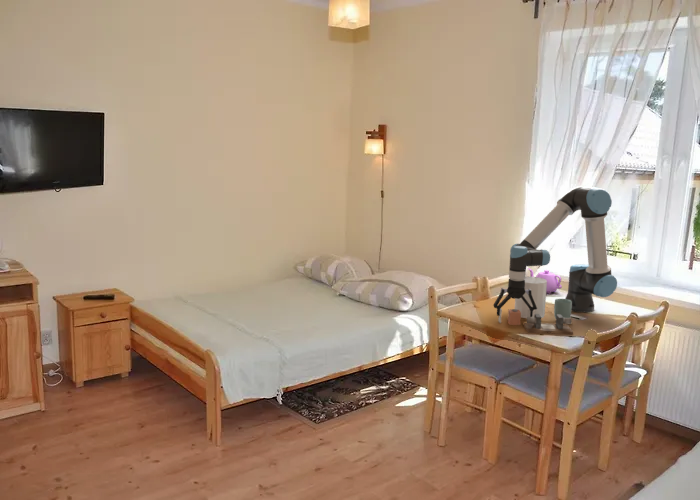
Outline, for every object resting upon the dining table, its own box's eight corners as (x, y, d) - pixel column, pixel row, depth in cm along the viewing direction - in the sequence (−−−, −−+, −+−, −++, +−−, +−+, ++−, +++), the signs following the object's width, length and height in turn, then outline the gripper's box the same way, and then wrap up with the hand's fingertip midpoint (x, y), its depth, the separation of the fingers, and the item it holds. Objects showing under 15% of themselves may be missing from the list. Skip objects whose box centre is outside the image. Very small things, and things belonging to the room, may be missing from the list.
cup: (550, 318, 300) (552, 298, 298) (566, 318, 301) (567, 298, 299) (557, 323, 292) (559, 303, 290) (573, 322, 293) (574, 302, 291)
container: (517, 309, 315) (520, 275, 312) (546, 313, 309) (549, 278, 306) (511, 316, 302) (514, 281, 299) (541, 320, 296) (544, 284, 293)
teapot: (522, 291, 351) (523, 269, 349) (530, 286, 363) (532, 265, 360) (557, 296, 340) (559, 274, 337) (565, 291, 351) (566, 270, 349)
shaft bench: (566, 326, 287) (568, 312, 286) (573, 334, 276) (574, 320, 275) (523, 324, 289) (524, 311, 288) (527, 332, 278) (528, 318, 277)
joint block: (518, 321, 294) (519, 308, 293) (520, 325, 289) (521, 311, 288) (507, 321, 294) (508, 308, 293) (509, 324, 289) (510, 311, 288)
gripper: (542, 278, 290) (538, 321, 294) (489, 276, 292) (486, 319, 296) (545, 281, 283) (542, 326, 287) (491, 280, 285) (488, 323, 289)
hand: (513, 322), depth 292 cm, fingers open, 13 cm apart
